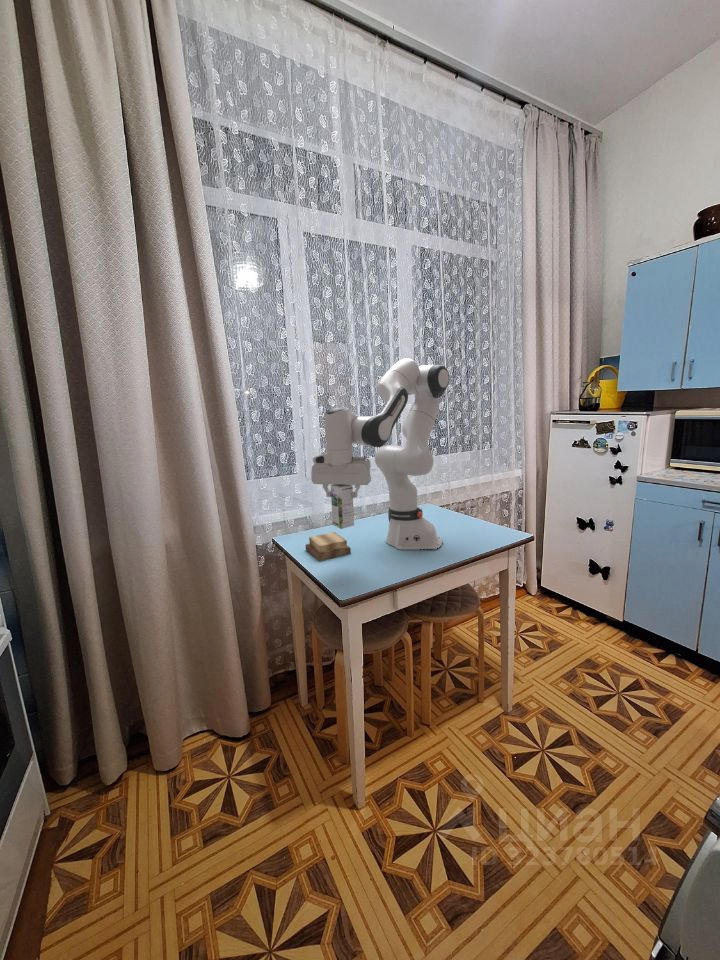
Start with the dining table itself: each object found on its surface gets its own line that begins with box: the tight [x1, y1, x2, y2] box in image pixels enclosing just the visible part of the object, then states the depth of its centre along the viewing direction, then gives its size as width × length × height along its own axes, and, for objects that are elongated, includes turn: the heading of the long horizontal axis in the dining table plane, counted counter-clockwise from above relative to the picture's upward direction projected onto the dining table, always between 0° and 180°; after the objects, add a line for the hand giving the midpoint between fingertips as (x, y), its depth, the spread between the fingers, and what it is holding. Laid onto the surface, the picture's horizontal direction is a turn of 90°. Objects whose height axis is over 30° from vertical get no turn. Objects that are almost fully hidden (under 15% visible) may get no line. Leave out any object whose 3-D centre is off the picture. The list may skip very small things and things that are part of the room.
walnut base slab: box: [305, 543, 352, 562], centre depth 151 cm, size 13×13×3 cm
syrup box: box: [330, 484, 355, 530], centre depth 134 cm, size 6×6×14 cm
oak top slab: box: [308, 531, 348, 554], centre depth 151 cm, size 11×11×3 cm
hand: (342, 497), depth 134 cm, fingers closed on syrup box, 8 cm apart
